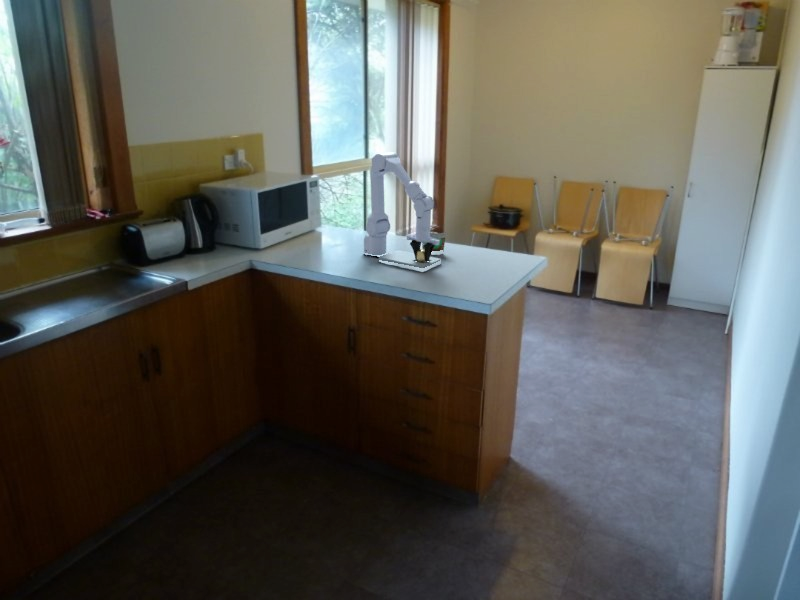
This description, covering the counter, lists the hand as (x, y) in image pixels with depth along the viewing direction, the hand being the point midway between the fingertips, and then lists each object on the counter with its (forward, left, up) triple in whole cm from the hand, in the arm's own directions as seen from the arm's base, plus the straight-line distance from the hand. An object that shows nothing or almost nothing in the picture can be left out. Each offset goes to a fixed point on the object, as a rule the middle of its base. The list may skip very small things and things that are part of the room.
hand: (422, 259), depth 242 cm
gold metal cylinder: (0, 0, -2) cm, 2 cm away
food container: (-7, +18, -3) cm, 20 cm away
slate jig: (-6, 0, -3) cm, 7 cm away
